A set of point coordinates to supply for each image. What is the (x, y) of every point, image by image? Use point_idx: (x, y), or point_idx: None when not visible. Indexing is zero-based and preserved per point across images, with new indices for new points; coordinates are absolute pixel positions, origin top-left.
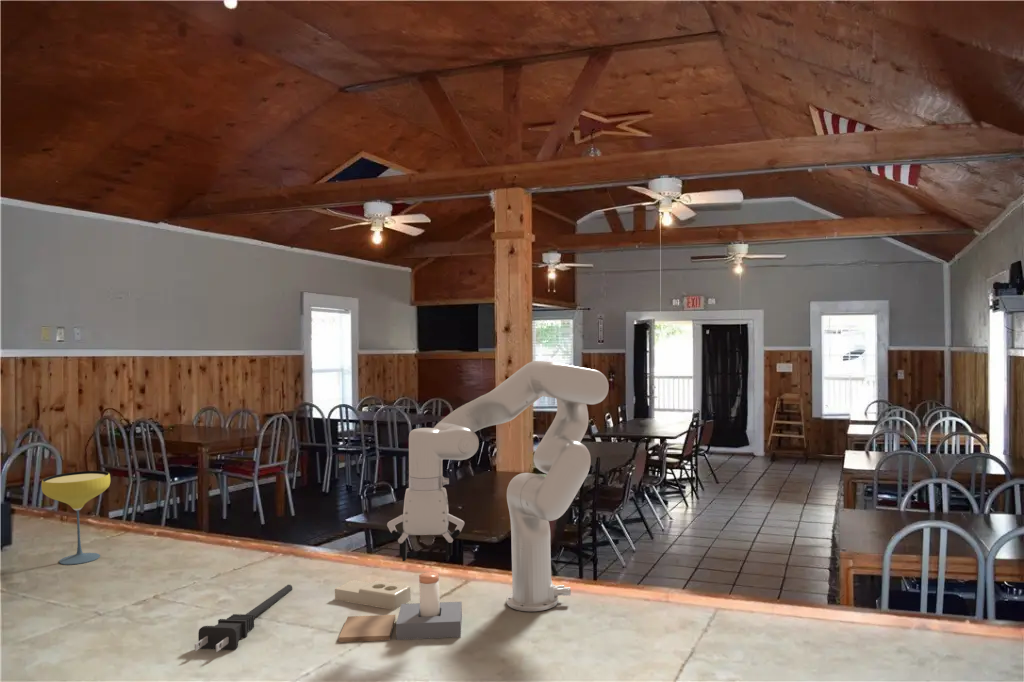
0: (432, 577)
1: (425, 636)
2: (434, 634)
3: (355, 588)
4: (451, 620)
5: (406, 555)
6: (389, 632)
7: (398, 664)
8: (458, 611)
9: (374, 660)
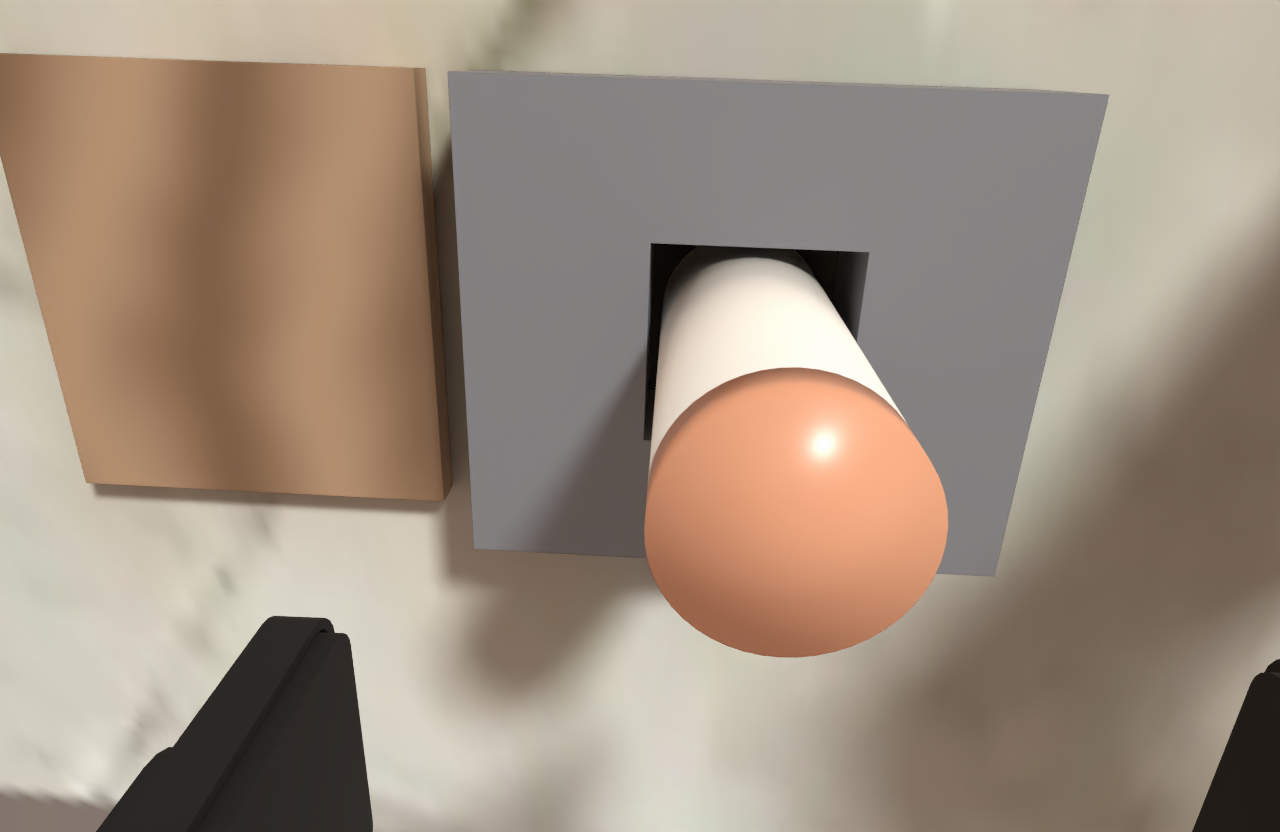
0: (841, 632)
1: None
2: None
3: None
4: None
5: (335, 721)
6: (433, 450)
7: (556, 783)
8: (1019, 369)
9: (414, 726)
